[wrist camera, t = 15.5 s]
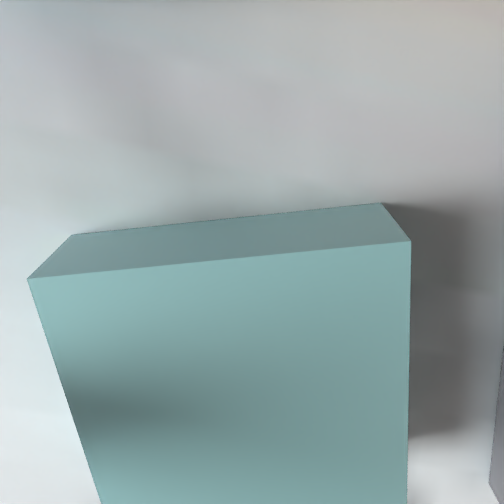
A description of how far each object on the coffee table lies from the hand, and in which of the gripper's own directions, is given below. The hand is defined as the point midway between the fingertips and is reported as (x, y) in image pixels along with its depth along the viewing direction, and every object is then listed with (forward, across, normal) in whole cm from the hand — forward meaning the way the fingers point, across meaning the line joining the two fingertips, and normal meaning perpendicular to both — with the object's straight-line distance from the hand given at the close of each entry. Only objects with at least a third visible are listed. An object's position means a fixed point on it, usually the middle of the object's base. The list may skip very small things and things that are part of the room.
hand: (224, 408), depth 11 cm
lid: (+3, 0, +1) cm, 4 cm away
